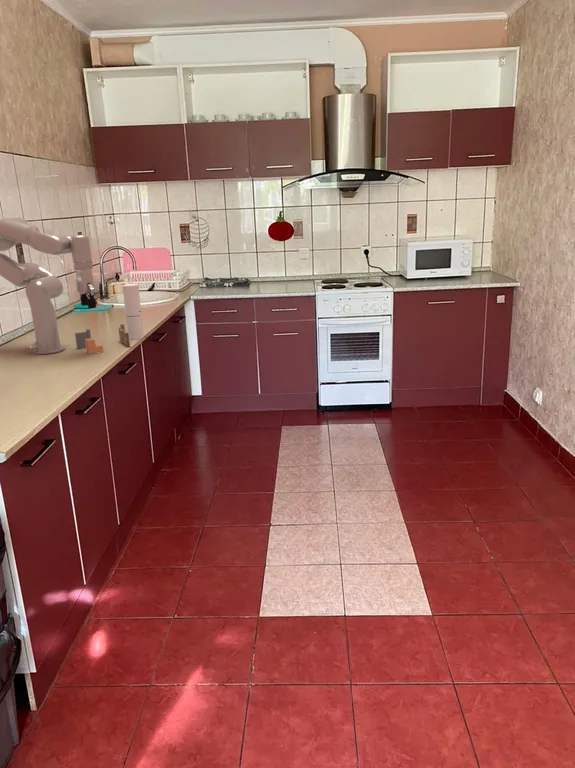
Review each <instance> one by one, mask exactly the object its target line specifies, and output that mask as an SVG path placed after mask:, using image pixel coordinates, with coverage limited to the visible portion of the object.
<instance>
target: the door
mask: <svg viewBox="0 0 575 768" xmlns="http://www.w3.org/2000/svg"><path fill="white" fill-rule="evenodd" d="M118 335H119V342H120V343H121V344H122V345H125V347H127V348H129V347H131V346H130V345H131V344H130V343H131V342H130V339H129V334H128V331H126V330H125V331H124V330H123V329H121V327H118Z"/></svg>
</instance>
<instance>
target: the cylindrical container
mask: <svg viewBox="0 0 575 768" xmlns="http://www.w3.org/2000/svg"><path fill="white" fill-rule="evenodd" d="M121 286H122V293H123V302H124V303H123V304H124V310H125V319H126V320H125V322H126V329H127V333H128V334H129V340H141V339H143V338H144V337H145V335H144V325H143V316H142V308H141V307H142V306H141V299H140V290H139V289H140V288H139V284H138V283H128V284H127V283H126V284H123V285H121Z"/></svg>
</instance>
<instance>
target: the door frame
mask: <svg viewBox="0 0 575 768" xmlns="http://www.w3.org/2000/svg"><path fill="white" fill-rule="evenodd" d="M120 328H121V329H123V330H124V331H126V328H125V324H123V323H121V324H120ZM74 336H75V343H76V350H77V349H78V350H80V349H79V348H81V349H86V345H85V339H89V338H92V335H91V328H86V330H85V331H80V332H75V333H74Z"/></svg>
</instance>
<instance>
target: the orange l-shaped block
mask: <svg viewBox="0 0 575 768" xmlns="http://www.w3.org/2000/svg"><path fill="white" fill-rule="evenodd" d="M85 345H86V348H85V350H86V353H87V354H88V353H89V354H88V355H93V354H92V353H95V354H98V353H97V352H101V353H104V346H103V344H101V343H96V340H95V339H94V338H92V337H91V338H89V339H85Z"/></svg>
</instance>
